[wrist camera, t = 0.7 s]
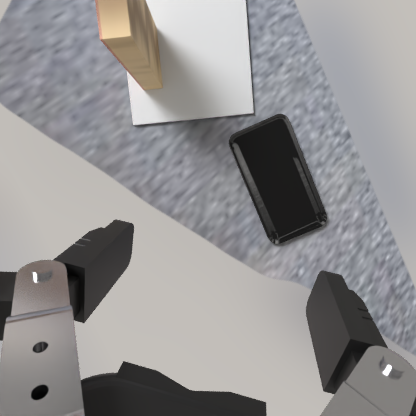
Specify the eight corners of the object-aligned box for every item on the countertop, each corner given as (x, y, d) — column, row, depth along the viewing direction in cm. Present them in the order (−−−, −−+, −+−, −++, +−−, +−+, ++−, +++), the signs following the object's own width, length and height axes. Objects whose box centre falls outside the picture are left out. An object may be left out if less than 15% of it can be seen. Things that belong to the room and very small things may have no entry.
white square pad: (119, -3, 34) (118, -5, 33) (243, -17, 33) (244, -20, 33) (134, 125, 35) (133, 124, 35) (253, 113, 35) (253, 112, 34)
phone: (272, 246, 36) (226, 137, 35) (270, 244, 37) (225, 138, 36) (330, 222, 35) (286, 110, 34) (326, 221, 37) (284, 112, 35)
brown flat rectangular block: (136, 29, 34) (87, -61, 21) (156, 27, 34) (119, -65, 21) (143, 90, 35) (100, 39, 22) (162, 88, 34) (130, 35, 22)
